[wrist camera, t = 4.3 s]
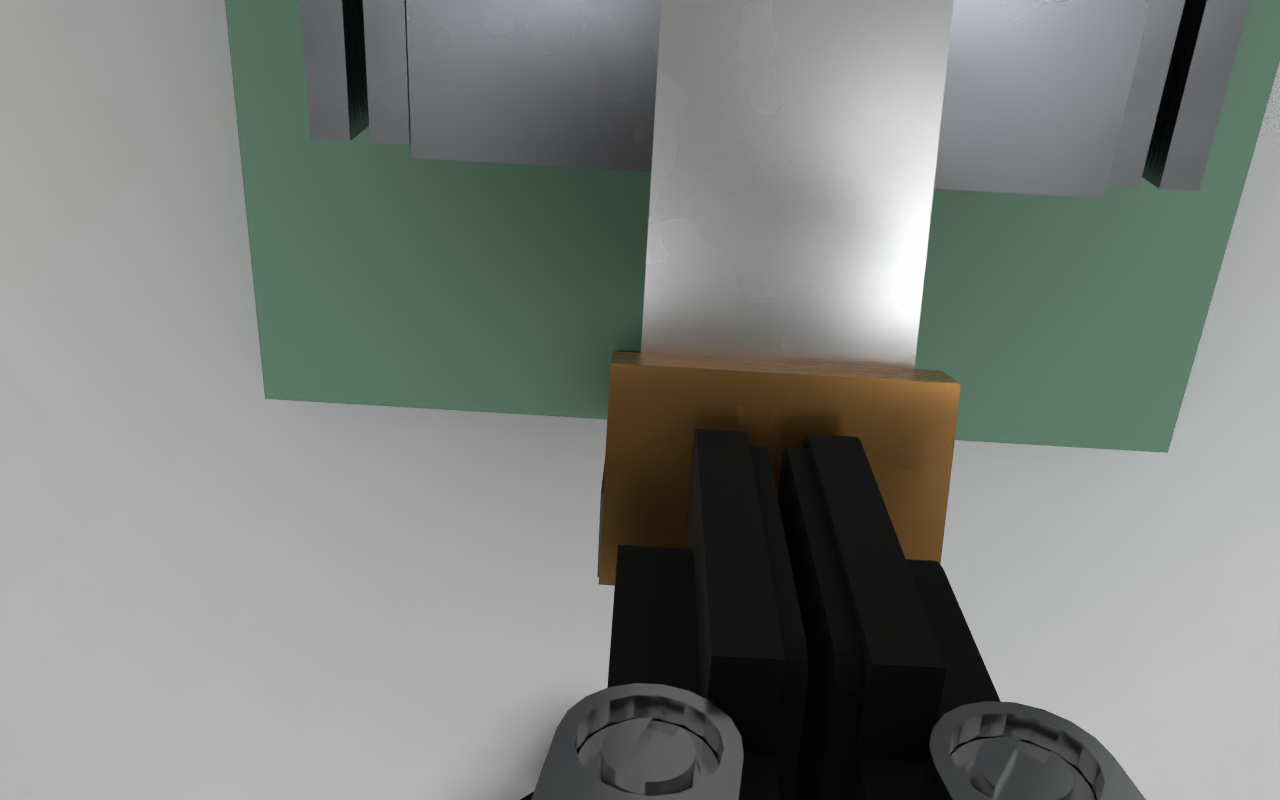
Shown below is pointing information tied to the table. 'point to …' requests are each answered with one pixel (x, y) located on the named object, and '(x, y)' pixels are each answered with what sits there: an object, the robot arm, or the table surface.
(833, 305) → the retention strap
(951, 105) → the heat sink
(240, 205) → the table surface
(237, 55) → the circuit board
